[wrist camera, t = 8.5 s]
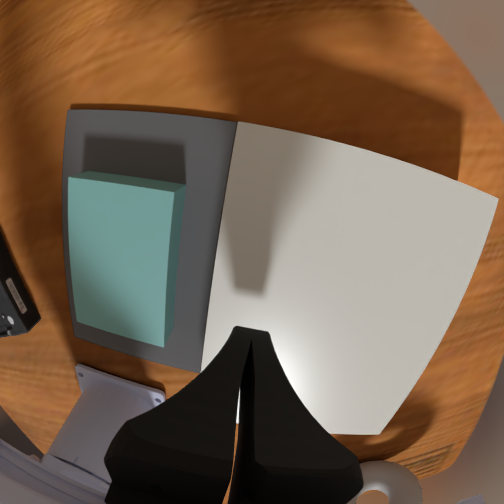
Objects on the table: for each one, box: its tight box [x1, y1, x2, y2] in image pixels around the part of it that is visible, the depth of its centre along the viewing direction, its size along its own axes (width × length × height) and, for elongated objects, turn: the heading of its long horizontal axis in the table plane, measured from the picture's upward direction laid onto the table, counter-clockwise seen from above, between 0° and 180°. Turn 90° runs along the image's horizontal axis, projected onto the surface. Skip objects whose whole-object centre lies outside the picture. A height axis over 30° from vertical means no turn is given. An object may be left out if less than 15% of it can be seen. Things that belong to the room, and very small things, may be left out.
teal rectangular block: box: [68, 171, 186, 347], centre depth 16 cm, size 9×6×2 cm, turn 170°
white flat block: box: [201, 121, 498, 435], centre depth 16 cm, size 16×12×4 cm
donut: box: [347, 460, 423, 504], centre depth 20 cm, size 10×4×10 cm, turn 99°
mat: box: [62, 110, 238, 373], centre depth 17 cm, size 16×10×1 cm, turn 170°
